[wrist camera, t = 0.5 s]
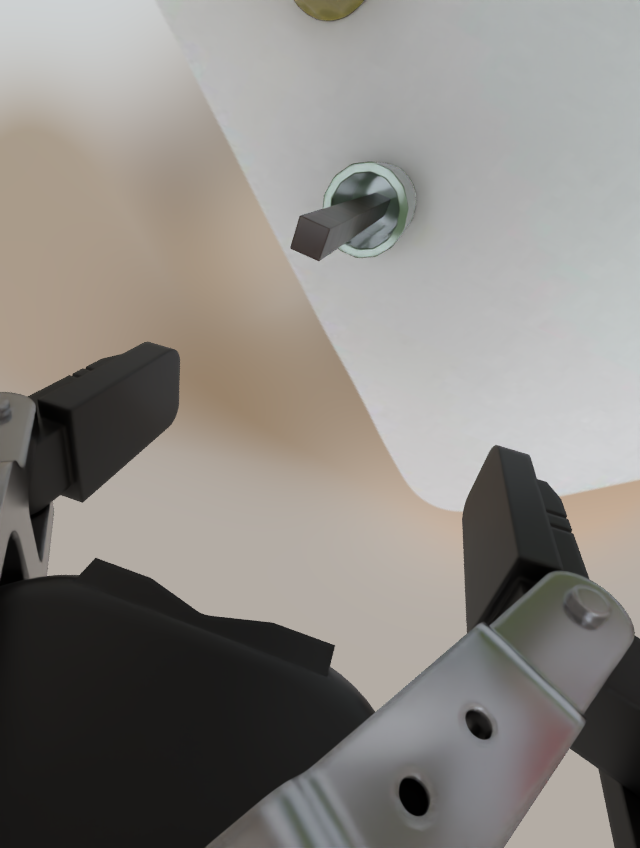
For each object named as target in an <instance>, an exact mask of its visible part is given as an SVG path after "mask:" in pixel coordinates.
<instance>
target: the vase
mask: <svg viewBox="0 0 640 848" xmlns="http://www.w3.org/2000/svg"><path fill="white" fill-rule="evenodd" d="M294 1H295V2H296V4H297V5H298V6H299V7H300V8H301V9H302V10H303V11H304V12H305V13H307V14H308V15H310V16H312V17H314V18H316V19H319V20H326V21H330V20H336V19H340V18H344V17H346V16H347V15H349V14H350V13H352V12H353V11H354V10H355V9H356V8H357V7H359V6H360V5H361V3H362V2H363V1H364V0H294Z"/></svg>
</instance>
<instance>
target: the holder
mask: <svg viewBox="0 0 640 848" xmlns="http://www.w3.org/2000/svg"><path fill="white" fill-rule="evenodd" d="M372 193H378V194H380V195H383V196H385V197H387V198H389V199H391V200H390V203H389V205H388V208H387V210H386V213H385V215H384V217H382V218H381V219H379V220H378V221H376V222H375V223H374V224H372V225H371V226H369V227H368V228H366V229H365V230H363V231H362V232H361V233H359V234H358V235H356V236H355V237H353V238H352V239H350V240H349V241H347V242H346V243H345V244H343V245H342V246H340V247H339V248H338V249H339V250H341V251H342V252H345V253H347V254H349V255H351V256H354V257H356V258H365V257H375V256H378V255H379V254H381V253H383V252H385V251H386V250H388V249H390V248H391V247H392V246H393V245H394V244H395V243H396V242H397V240H398V239H399V238H400V236H401V235H402V234H403V233H404V231H405V230H406V228H407V227H408V225H409V224H410V223H411V221H412V219H413V216H414V213H415V209H416V192H415V188H414V185H413V183H412V181H411V179H410V178H409V177H408V175H407V174H406V173H405V172H404V171H403V170H402V169H400V168H398V167H396V166H394V165H391V164H389V163H383V162H363V163H354V164H351V165H350V166H348V167H347V168H345V169H344V170H342V171H341V172H340V173H338V174H337V175H336V176H335V177H334V178H333V180H332V182H331V184H330V185H329V187H328V189H327V191H326V192H325V195H324V201H323V209H324V208H327V207H330V206H333V205H337V204H340V203H343V202H346V201H350V200H353V199H356V198H359V197H363V196H366V195H369V194H372Z"/></svg>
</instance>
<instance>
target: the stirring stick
mask: <svg viewBox="0 0 640 848" xmlns="http://www.w3.org/2000/svg"><path fill="white" fill-rule="evenodd" d="M390 200H391V199H389V198H387V197H385V196H383V195H380V194H378V193H372V194H369V195H366V196H363V197H359V198H356V199H353V200H350V201H346V202H343V203H340V204H337V205H333V206H330V207H327V208H324V209H321V210H317V211H314V212H311V213H308V214H304V215H301V216H300V217H299V221H298V224H297V227H296V231H295V234H294V237H293V241H292V244H291V249H293V250H295V251H297V252H299V253H302V254H304V255H306V256H308V257H311V258H313V259H315V260H317V261H320V260H321V259H323V258H324V257H326V256H327V255H329V254H330V253H331V252H333V251H334V250H336V249H337V248H339V247H340V246H342V245H343V244H345V243H346V242H347V241H349V240H350V239H352V238H353V237H355V236H356V235H358V234H359V233H361V232H362V231H363V230H365V229H366V228H368V227H369V226H371V225H372V224H374V223H375V222H376V221H378V220H379V219H381V218H382V217H384V215H385V213H386V210H387V208H388V205H389V203H390Z"/></svg>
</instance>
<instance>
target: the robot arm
mask: <svg viewBox="0 0 640 848" xmlns="http://www.w3.org/2000/svg"><path fill="white" fill-rule="evenodd" d="M179 373H180V357H179V354H178V352H177V351H176V350H174V349H171V348H168V347H164V346H161V345H158V344H154V343H151V342H144V343H142V344H140V345H139V346H137V347H135V348H133V349H131V350H129V351H127V352H125V353H123V354H121V355H116V356H112V357H107V358H103V359H100V360H98V361H97V362H95V363H93V364H91V365H89V366H87V367H86V369H81V370H79V371H77V372H75V373H73V376H70V375H69V376H67V377H65V378H63V379H61V380H59V381H57V382H55V383H53V384H52V385H50V386H48V387H46V388H44V389H42V390H40V391H38V392H36V393H34V394H32V395H30V396H28V397H26V396H24V395H21V394H16V393H9V392H0V848H504V846H505V845H506V843H507V842H508V840H509V839H510V837H511V836H512V834H513V833H514V831H515V830H516V828H517V826H518V825H519V824H520V822H521V821H522V819H523V818H524V816H525V815H526V813H527V812H528V810H529V809H530V807H531V806H532V804H533V803H534V801H535V800H536V798H537V796H538V795H539V793H540V792H541V791H542V789H543V788H544V786H545V784H546V783H547V781H548V780H549V778H550V777H551V775H552V774H553V772H554V771H555V769H556V768H557V766H558V765H559V763H560V762H561V760H562V759H563V757H564V756H565V754H566V753H567V751H568V750H569V748H570V749H571V750H573V751H574V752H576V753H577V754H579V755H580V756H581V757H583V758H584V759H586V760H587V761H589V762H590V763H591V764H593V765H594V766H596V767H597V768H598V769H599V773H600V778H601V783H602V788H603V793H604V798H605V802H606V808H607V812H608V817H609V822H610V827H611V832H612V837H613V842H614V847H615V848H640V639H639V638H638V637H636V636H635V635H634V634H635V632H634V627H633V624H632V621H631V619H630V617H629V615H628V614H627V612H626V611H625V609H624V608H623V607H622V605H621V604H620V603H619V602H618V601H617V600H616V599H615V598H614V597H613V596H612V595H611V594H610V593H609V592H607V591H606V590H605V589H604V588H602V587H601V586H599V585H598V584H596V583H594V582H593V581H591V580H590V579H589V577H588V574H587V571H586V568H585V565H584V563H583V560H582V557H581V554H580V551H579V548H578V546H577V543H576V540H575V537H574V534H572V533H571V531H572V529H571V526H570V523H569V520H568V519H566V517H567V515H566V512H565V509H564V506H563V503H562V501H561V499H560V497H559V496H558V495H557V494H556V493H555V492H554V490H553V489H552V488H551V487H550V486H549V484H548V483H547V482H545V481H541V480H538V479H537V478H536V475H535V471H534V468H533V465H532V461H531V458H530V456H529V455H528V454H525V453H521V452H518V451H515V450H511V449H508V448H504V447H501V446H498V445H495V446H494V447H493V448H492V449H491V450H490V452H489V454H488V456H487V458H486V460H485V462H484V464H483V466H482V468H481V470H480V472H479V474H478V476H477V478H476V481H475V483H474V485H473V487H472V489H471V491H470V493H469V495H468V497H467V500H466V503H465V506H464V511H463V518H462V524H463V549H464V572H465V596H466V621H467V634H466V635H465V636H464V637H463V638H461V639H460V640H459V641H458V642H457V643H456V644H455V645H453V646H452V647H451V648H450V649H449V650H447V651H446V652H445V653H444V654H443V655H442V656H440V657H439V658H438V659H437V660H436V661H435V662H434V663H432V664H431V665H430V666H429V667H428V668H426V669H425V670H424V671H423V672H422V673H421V674H419V675H418V676H417V677H416V678H415V679H414V680H412V681H411V682H410V683H409V684H408V685H407V686H405V687H404V688H403V689H402V690H401V691H400V692H398V694H396V695H395V696H394V697H393V698H392V699H390V700H389V701H388V702H387V703H386V704H385V705H383V706H382V707H381V708H380V709H379V710H377V711H376V712H375V711H374V710H373V708H372V707H371V705H370V704H369V703H368V701H367V700H366V699H365V698H364V697H363V696H362V695H361V694H360V692H359V691H358V690H357V689H356V688H355V687H354V686H353V685H352V684H351V683H350V682H349V681H348V680H346V679H345V678H344V677H343V676H342V675H341V674H339V673H338V672H337V671H335V670H334V669H333V668H331V667H330V663H331V659H332V655H333V651H334V647H335V645H332V644H330V643H327V642H324V641H321V640H319V639H316V638H313V637H310V636H308V635H305V634H302V633H299V632H296V631H294V630H291V629H289V628H286V627H283V626H280V625H277V624H275V623H270V622H261V621H252V620H242V619H234V618H225V617H214V616H208V615H204V614H201V613H199V612H198V611H196V610H195V609H193V608H192V607H191V606H189V605H188V604H186V603H185V602H184V601H182V600H181V599H180V598H178V597H177V596H175V595H174V594H173V593H171V592H170V591H168V590H167V589H165V588H164V587H163V586H161V585H160V584H158V583H157V582H156V581H154V580H153V579H151V578H149V577H146V576H144V575H141V574H138V573H135V572H132V571H130V570H127V569H124V568H122V567H119V566H116V565H114V564H111V563H108V562H105V561H102V560H100V559H97V558H95V559H94V560H93V561H92V562H91V564H89V566H88V567H87V568H86V569H85V570H84V571H83V572H82V573H81V574H80V575H54V576H47V570H48V561H49V552H50V543H51V533H52V525H53V516H54V508H53V502H52V501H53V500H54V499H56V498H57V497H58V496H59V495H62V496H66V497H68V498H71V499H74V500H77V501H80V502H84V501H85V500H86V499H87V498H88V497H90V496H91V495H92V494H93V493H94V492H95V491H96V490H98V489H99V488H100V487H101V486H102V485H103V484H104V483H106V482H107V481H108V480H109V479H110V478H111V477H112V476H113V475H115V474H116V473H117V472H118V471H119V470H120V469H121V468H123V467H124V466H125V465H126V464H127V463H128V462H129V461H131V460H132V459H133V458H134V457H135V456H136V455H137V454H139V452H141V451H142V450H143V449H144V448H145V447H147V446H148V445H149V444H150V443H151V442H152V441H153V440H155V439H156V438H157V437H158V436H159V435H160V434H161V433H162V432H163V431H165V430H166V429H167V428H168V427H169V426H170V425H171V424H172V422H173V421H174V419H175V417H176V414H177V411H178V406H179V375H180V374H179Z"/></svg>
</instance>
